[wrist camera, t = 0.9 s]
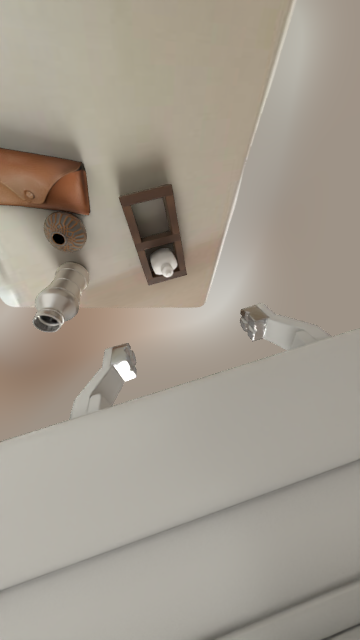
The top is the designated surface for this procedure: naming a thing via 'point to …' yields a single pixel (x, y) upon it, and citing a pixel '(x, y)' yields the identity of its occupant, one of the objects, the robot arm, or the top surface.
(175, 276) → the stand
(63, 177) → the sunglasses case
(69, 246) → the vase
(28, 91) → the top surface
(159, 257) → the eye dropper bottle
